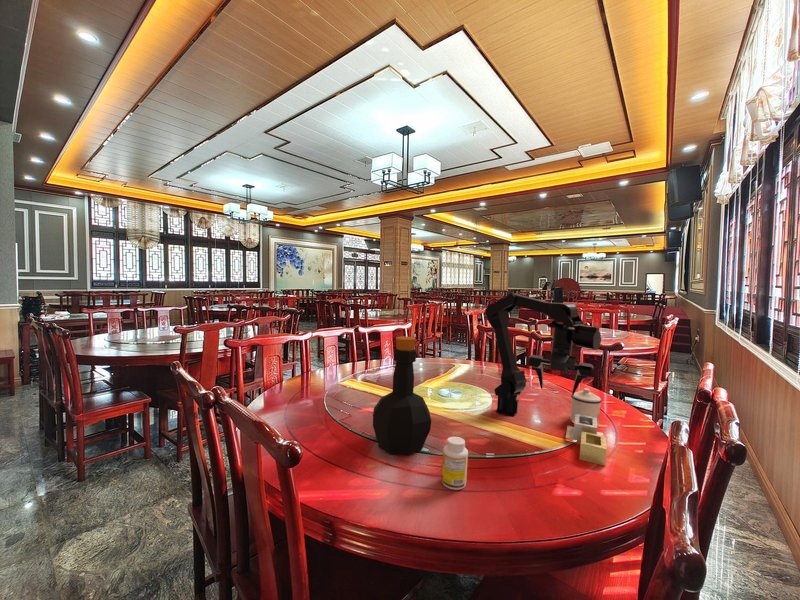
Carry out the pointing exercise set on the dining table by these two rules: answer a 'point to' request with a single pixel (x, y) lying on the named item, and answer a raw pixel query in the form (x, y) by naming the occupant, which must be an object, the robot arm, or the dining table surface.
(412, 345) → the bottle
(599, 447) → the link
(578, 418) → the link
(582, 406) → the teacup with lid
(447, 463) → the supplement bottle
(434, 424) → the dining table surface
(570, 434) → the keeper
